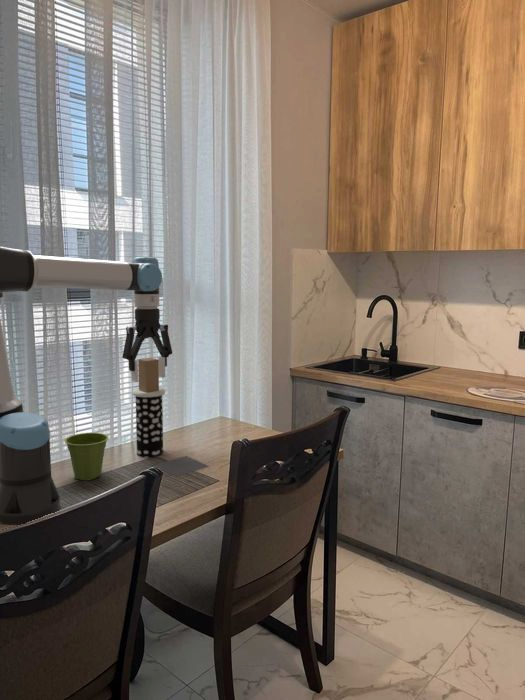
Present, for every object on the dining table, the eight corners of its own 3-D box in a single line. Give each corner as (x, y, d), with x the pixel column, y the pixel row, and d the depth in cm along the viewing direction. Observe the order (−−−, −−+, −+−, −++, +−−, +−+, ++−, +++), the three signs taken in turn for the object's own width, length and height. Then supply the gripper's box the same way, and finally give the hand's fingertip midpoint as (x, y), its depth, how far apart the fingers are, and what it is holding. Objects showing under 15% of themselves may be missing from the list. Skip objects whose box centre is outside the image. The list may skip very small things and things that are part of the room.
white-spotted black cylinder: (166, 450, 175) (165, 391, 172) (159, 459, 167) (157, 397, 164) (141, 449, 176) (140, 390, 173) (133, 458, 168) (131, 396, 165)
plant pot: (116, 477, 153) (115, 439, 151) (76, 487, 145) (74, 448, 143) (99, 465, 161) (97, 429, 160) (59, 474, 154) (58, 437, 152)
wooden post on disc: (143, 399, 162) (142, 363, 160) (126, 393, 169) (125, 359, 167) (171, 394, 169) (170, 359, 167) (154, 388, 176) (153, 355, 174)
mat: (176, 477, 153) (176, 476, 152) (153, 466, 161) (153, 465, 161) (209, 467, 161) (209, 466, 161) (186, 457, 169) (186, 455, 169)
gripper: (121, 310, 154) (123, 385, 158) (183, 307, 169) (184, 376, 173) (108, 308, 160) (111, 381, 163) (170, 305, 175) (171, 373, 178)
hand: (148, 379), depth 168 cm, fingers open, 9 cm apart
